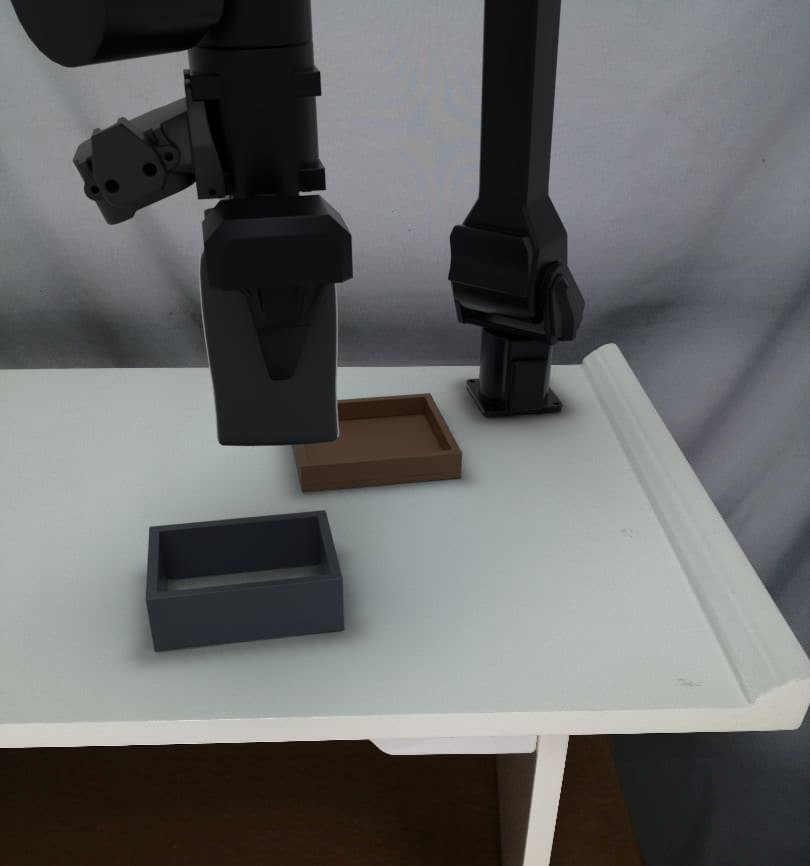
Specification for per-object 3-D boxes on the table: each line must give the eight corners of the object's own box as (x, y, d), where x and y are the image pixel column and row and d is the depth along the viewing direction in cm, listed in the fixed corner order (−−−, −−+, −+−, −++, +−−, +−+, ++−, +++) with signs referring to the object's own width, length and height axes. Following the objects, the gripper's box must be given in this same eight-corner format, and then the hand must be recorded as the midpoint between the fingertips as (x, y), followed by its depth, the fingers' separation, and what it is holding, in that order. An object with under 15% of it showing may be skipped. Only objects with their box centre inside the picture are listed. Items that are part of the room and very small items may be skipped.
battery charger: (339, 421, 56) (332, 218, 50) (342, 446, 52) (335, 232, 47) (219, 425, 55) (199, 221, 50) (214, 451, 52) (192, 234, 46)
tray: (288, 427, 73) (286, 403, 72) (429, 415, 75) (430, 392, 74) (302, 492, 65) (300, 466, 64) (461, 477, 67) (462, 452, 66)
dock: (157, 576, 56) (148, 526, 54) (327, 558, 58) (325, 509, 56) (154, 652, 50) (145, 599, 48) (344, 630, 52) (342, 578, 50)
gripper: (82, 24, 49) (131, 313, 58) (42, 78, 34) (116, 458, 43) (296, 19, 51) (312, 300, 60) (348, 68, 36) (360, 435, 45)
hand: (277, 362), depth 52 cm, fingers closed on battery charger, 4 cm apart
